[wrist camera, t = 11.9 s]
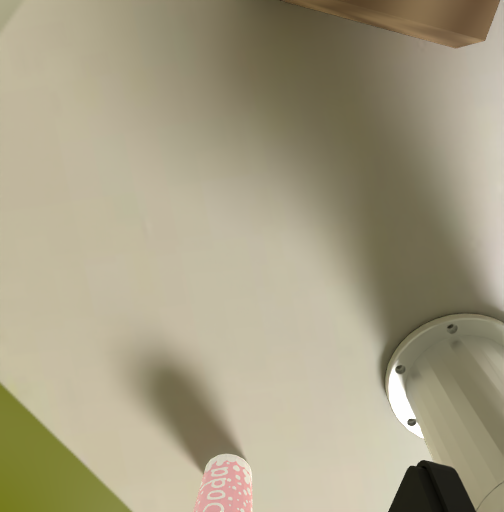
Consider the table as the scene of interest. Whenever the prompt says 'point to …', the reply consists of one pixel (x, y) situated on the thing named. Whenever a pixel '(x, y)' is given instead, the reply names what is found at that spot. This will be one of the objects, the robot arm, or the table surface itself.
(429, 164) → the table surface
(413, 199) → the table surface
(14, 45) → the table surface
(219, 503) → the beverage cup
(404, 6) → the display stand
